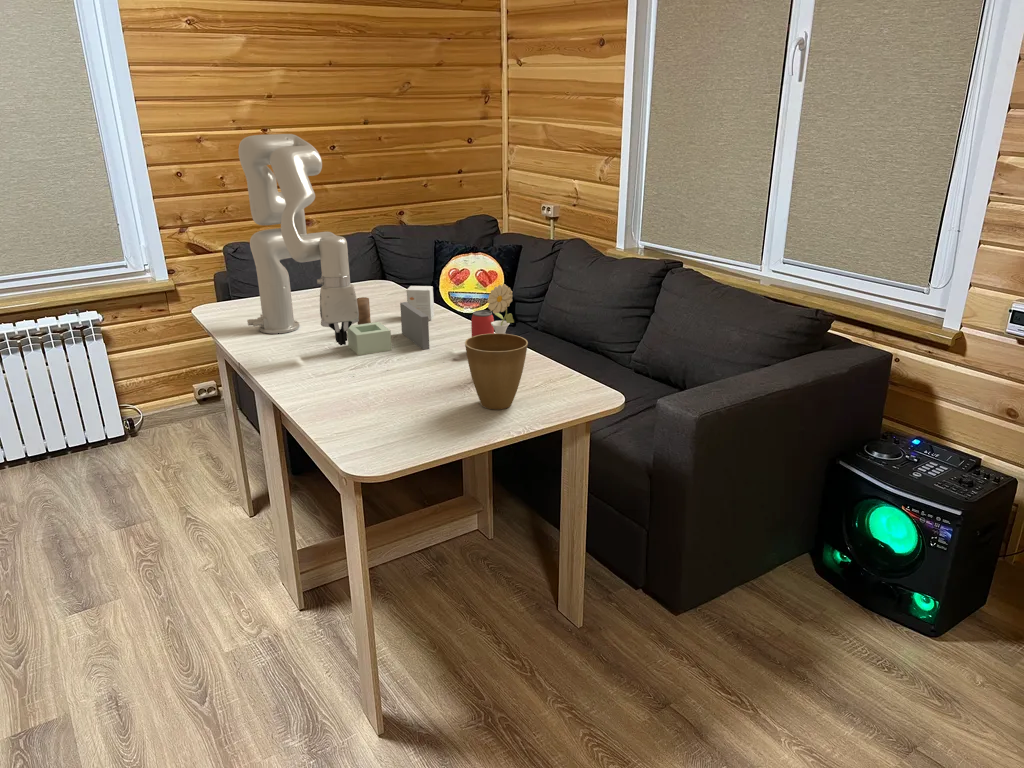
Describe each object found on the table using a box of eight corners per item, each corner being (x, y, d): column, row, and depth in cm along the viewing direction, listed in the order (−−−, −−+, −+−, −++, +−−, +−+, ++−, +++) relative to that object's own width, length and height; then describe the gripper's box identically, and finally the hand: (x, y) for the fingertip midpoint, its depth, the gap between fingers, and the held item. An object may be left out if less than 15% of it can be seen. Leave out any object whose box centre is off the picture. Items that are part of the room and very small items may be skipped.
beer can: (498, 351, 220) (498, 312, 215) (483, 357, 215) (482, 317, 211) (483, 347, 224) (482, 308, 220) (467, 352, 219) (466, 312, 215)
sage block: (358, 355, 213) (356, 335, 211) (348, 345, 222) (346, 326, 220) (391, 350, 218) (390, 330, 216) (380, 340, 226) (379, 321, 224)
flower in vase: (473, 367, 207) (471, 279, 198) (511, 362, 211) (511, 275, 202) (491, 383, 196) (490, 290, 187) (530, 377, 200) (531, 285, 191)
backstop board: (356, 364, 210) (353, 326, 206) (338, 346, 225) (335, 310, 221) (429, 352, 219) (428, 316, 215) (408, 336, 234) (406, 301, 230)
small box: (434, 316, 255) (433, 285, 251) (431, 320, 250) (430, 290, 246) (411, 315, 256) (410, 285, 252) (407, 320, 251) (406, 289, 247)
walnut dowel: (360, 339, 231) (357, 301, 227) (357, 335, 235) (354, 298, 230) (373, 337, 233) (370, 299, 229) (369, 333, 236) (366, 296, 232)
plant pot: (535, 412, 178) (536, 348, 173) (474, 419, 174) (473, 354, 169) (517, 389, 192) (517, 330, 186) (460, 396, 188) (458, 335, 182)
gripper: (312, 287, 202) (319, 351, 209) (366, 281, 209) (370, 343, 215) (306, 281, 209) (312, 344, 215) (358, 275, 215) (363, 336, 222)
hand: (341, 343), depth 215 cm, fingers closed
